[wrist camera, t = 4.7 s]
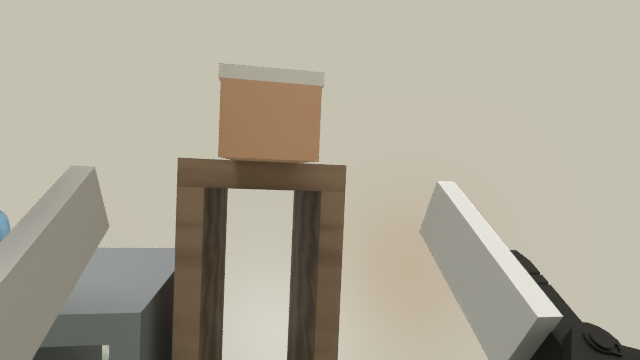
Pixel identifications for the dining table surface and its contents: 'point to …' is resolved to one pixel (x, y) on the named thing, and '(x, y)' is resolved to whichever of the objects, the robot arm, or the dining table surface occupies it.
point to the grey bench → (117, 308)
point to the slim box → (269, 114)
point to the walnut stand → (210, 244)
